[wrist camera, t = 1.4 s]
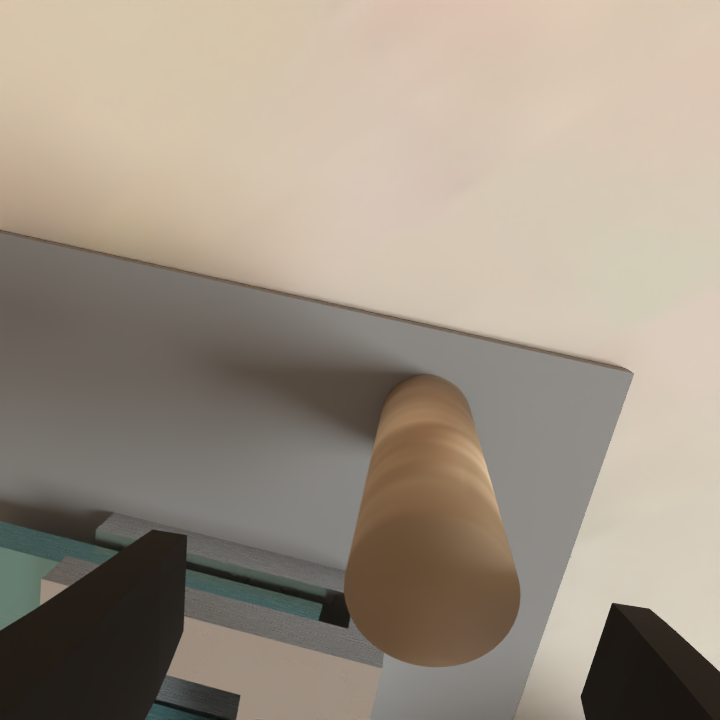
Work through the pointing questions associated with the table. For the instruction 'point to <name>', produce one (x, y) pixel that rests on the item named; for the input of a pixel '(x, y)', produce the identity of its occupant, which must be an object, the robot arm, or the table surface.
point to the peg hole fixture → (222, 624)
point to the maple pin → (430, 535)
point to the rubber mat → (279, 430)
